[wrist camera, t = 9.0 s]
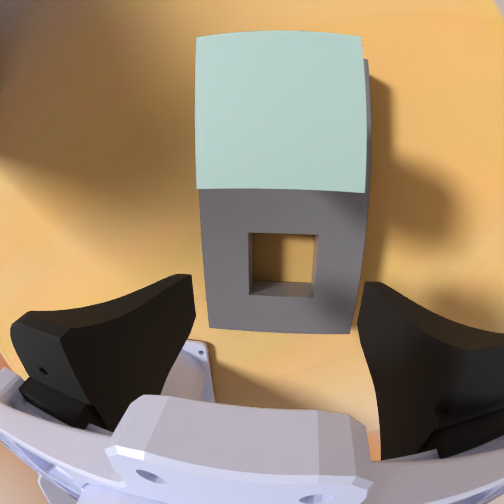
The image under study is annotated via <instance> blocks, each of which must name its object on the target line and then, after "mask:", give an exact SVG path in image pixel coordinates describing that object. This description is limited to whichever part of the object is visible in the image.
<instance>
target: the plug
mask: <svg viewBox="0 0 504 504" xmlns="http://www.w3.org/2000/svg"><path fill="white" fill-rule="evenodd" d="M366 151H367V118H366V90H365V74H364V61H363V51H362V42H361V37H358V36H351V35H344V34H335V33H324V32H310V31H250V32H236V33H225V34H216V35H209V36H202V37H196V65H195V155H196V185H197V189H223V188H259V189H302V190H325V191H342V192H357V193H365V180H366Z"/></svg>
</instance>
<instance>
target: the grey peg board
mask: <svg viewBox="0 0 504 504" xmlns="http://www.w3.org/2000/svg"><path fill="white" fill-rule="evenodd" d="M363 61H364V74H365V90H366V118H367V151H366V180H365V193H357V192H342V191H325V190H302V189H259V188H223V189H199V199H200V219H201V236H202V251H203V264H204V277H205V288H206V299H207V310H208V320H209V328H218V329H230V330H243V331H257V332H276V333H302V334H350V330H351V325H352V320H353V315H354V310H355V304H356V299H357V293H358V287H359V281H360V274H361V267H362V260H363V252H364V244H365V236H366V226H367V215H368V203H369V189H370V168H371V102H370V82H369V68H368V60H367V59H363ZM253 233H282V234H311V235H315V241H314V256H313V269H312V281H311V283H302V282H275V281H253Z"/></svg>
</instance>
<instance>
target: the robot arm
mask: <svg viewBox="0 0 504 504" xmlns="http://www.w3.org/2000/svg"><path fill="white" fill-rule="evenodd" d="M195 317H196V312H195V304H194V295H193V286H192V276H191V275H190V274H175V275H172V276H169V277H167V278H165V279H162V280H160V281H158V282H156V283H153V284H151V285H149V286H147V287H145V288H142V289H140V290H137V291H135V292H133V293H130V294H128V295H125V296H123V297H120V298H117V299H114V300H111V301H107V302H104V303H100V304H96V305H91V306H86V307H82V308H75V309H68V310H57V311H29V312H27V313H25V314H24V315H23V316H22V317H20V318H19V319H18V320H16V321H15V322H14V323H13V324H12V325H11V328H10V336H11V340H12V343H13V346H14V348H15V351H16V353H17V355H18V357H19V359H20V360H21V362H22V364H23V366H24V368H25V370H26V372H27V373H28V375H29V376H30V377H29V378H28V379H27V380H26V381H24V380H23V379H22V378H21V377H20V376H19V375H17V374H16V373H14V372H13V371H11V370H9V369H8V368H6V367H4V368H2V369H1V370H0V441H1V442H2V443H3V444H4V445H5V446H6V447H7V448H8V449H9V450H10V451H12V452H13V453H14V454H15V455H16V456H17V457H19V458H20V459H21V460H23V461H24V462H25V463H26V464H27V465H29V466H30V467H31V468H32V469H34V470H35V471H37V472H38V475H39V476H40V477H39V479H38V483H39V485H40V487H41V489H42V491H43V492H44V494H45V496H46V498H47V500H48V501H49V503H50V504H487V503H489V502H491V501H493V500H494V499H496V498H498V497H499V496H501V495H503V494H504V334H502V333H494V332H489V331H484V330H480V329H476V328H472V327H469V326H466V325H463V324H460V323H457V322H454V321H451V320H449V319H446V318H444V317H442V316H440V315H437V314H435V313H433V312H431V311H429V310H427V309H425V308H424V307H422V306H420V305H418V304H416V303H415V302H413V301H411V300H410V299H408V298H407V297H405V296H403V295H402V294H400V293H398V292H397V291H395V290H394V289H392V288H390V287H389V286H387V285H385V284H383V283H381V282H368V281H365V285H364V291H363V296H362V302H361V307H360V312H359V317H358V322H357V326H358V332H359V337H360V343H361V346H362V349H363V352H364V355H365V358H366V361H367V364H368V367H369V371H370V374H371V377H372V380H373V384H374V388H375V392H376V399H377V406H378V414H379V424H380V439H381V461H371V458H370V452H369V446H368V440H367V434H366V428H365V426H364V425H363V424H361V423H360V422H358V421H357V420H356V419H354V418H353V417H351V416H350V415H348V414H344V413H338V412H330V411H323V410H317V409H277V408H261V407H249V406H239V405H230V404H222V403H215V397H214V390H213V384H212V377H211V370H210V363H209V355H208V348H207V345H206V344H205V343H204V342H200V341H192V340H187V338H188V336H189V334H190V332H191V329H192V326H193V323H194V320H195ZM201 351H203V352H201Z"/></svg>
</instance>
